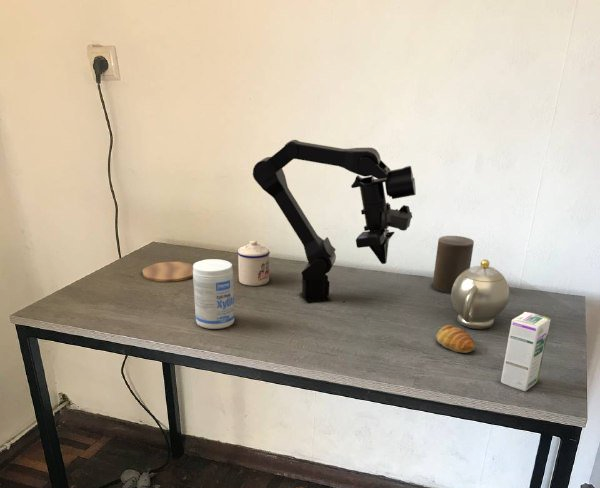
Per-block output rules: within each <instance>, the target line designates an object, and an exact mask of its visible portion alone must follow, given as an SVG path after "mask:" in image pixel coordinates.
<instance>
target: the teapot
mask: <svg viewBox="0 0 600 488" xmlns="http://www.w3.org/2000/svg"><path fill="white" fill-rule="evenodd" d="M450 294H451V295H450V297H451V298H450V299H451V303H452V306H453V308H454V310H455V311H456V312H457V314H458V315H457V322H458V323H459V324H460V326H462V327H465V328H468V329H472V330H486V329H489V328H491V327H492V326H493V325H494V323H495V320H494V319H495V318H496V317H498V316H499V315H500V314H501V313H502V312H504V310H505V308H506V307H507V305H508V302H509V298H510V288H509V283H508V281H507V279H506V278H505V276H504V275H503V273H501V272H500V271H499V270H498V269H496V268H495V267H493V266H490V261H489V260H488V259H482V260H481V261H480V265H476V266H472V267H471V266H470V268H469V269H467V270H465V271H464V272H462V273H461V274H460V275H459V276H458V277H457V279H456V280H455V282H454V284H453V287H452V292H451V293H450Z"/></svg>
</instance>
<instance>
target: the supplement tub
mask: <svg viewBox="0 0 600 488" xmlns="http://www.w3.org/2000/svg"><path fill="white" fill-rule="evenodd" d="M192 265H193V277H192V280H193V299H194V313H195V323H196V324H197V325H198V326H199V327H201V328H204V329H209V330H219V329H226V328H229V327H230V326H231V325H233V324H234V322H235V289H234V287H235V285H234V269H233V264H232V262H231V261H228V260H224V259H217V258H215V259H214V258H211V259H210V258H209V259H203V260H199V261H197V262H194V263H193V264H192Z"/></svg>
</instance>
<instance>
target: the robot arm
mask: <svg viewBox="0 0 600 488" xmlns="http://www.w3.org/2000/svg"><path fill="white" fill-rule="evenodd" d="M381 159H382V158H381V156H380V153H379V151H378V150H377V149H376V148H374V147H351V148H341V147H335V146H330V145H329V146H328V145H322V144H317V143H311V142H304V141H300V140H298V139H291V140H289V141H288V142H286V143H285V144H284V146H283V147H281V149H279V150H278V151H277V152H275V153H274V154H273V155H272V156H267V157H264V158H263V159H262V158H261V160H259V161H258V162H256V163H255V165H254V166H253V169H252V177H253V179H254V181H255V182H256V183H257V184H258V186H259V187H260V188H261V189H262V190H263V191H264V192H265V193H267V194H268V195H269V196H271V197H272V198H273V200H274V201H275V202H276V204H277V206H278V207H279V209H280V211H281V212H282V214H283V215H284V216H285V218H286V220H287V222H288V223H289V225H290V226H291V228H292V230H293V232H294V233H295V235H296V237H298V239H299V240H300V242H301V244H302V245H303V249H304V253H305V257H306V260H307V263H306V265H305V266H304V268H303V269H302V271H301V272H300V273H301V280H302V281H301V292H299V296H301V298H302V299H303V300H304V301H305V302H306V303H316V302H326V301H330V297H329V296H330V284H331V283H330V282H331V281H329V276H328V275H327V274H328V273H329V272H331V269H332V268H333V266H334V264H335V262H336V258H337V256H336V252H335V251H336V250H337V249H336V248H335V247H334V246H333V245H332V243H331V240H330V239H329V237H328V236H327V237H325V238H322V237H321V236H319V235H318V234H317V232H316V230H315V229H314V227H313V226H312V224H311V223H310V220H309V219H308V217H307V216H306V214H305V213H304V211H303V209H302V208H301V206H300V205H299V203H298V201H297V200H296V198H295V197H294V195H293V193H292V192H291V190H290V189H289V185H288V183H287V178H286V174H285V172H284V169H283V168H285V167H286V166H287V165H288V164H289V163H291V162H292V161H293V160H299V161H306V162H311V163H317V164H322V165H329V166H335V167H339V168H343V169H345V170H347V171H348V172H350V173H353V174H356V176H355V179H354V181H353V183H352V184H351V185H350V187H351V189H355V188H359V190H360V197H361V202H362V209H361V210H360V213H361V215H364V221H365V225H364V226H363V229H364V231H362V232H361V233H360V234H358V236H357V238H355V244H356V248H357V249H361V248H369V249H370V250H371V251H372V253H373V254H374V255H375V257H376V258H377V259H378V261H379V262H380V263H381V265H385V264H387V261H388V253H389V252H388V251H389V243H390V240H391V238H392V237H393V236H394V234H395V231H390V229H388V228H389V227H390V228H394V229H398V230H399V231H403V232H405V231H407V230H408V228H410V225H411V220H412V218H413V212H411V210H410V206H409V205H405V204H403V205H402V206H401V207H400V208H399V209H398V208H395V209H394V208H393V209H392V207H391V204H390V202H387V200H386V196H388V197H389V198H391V199H392V200H395V199H396V200H397V199H401V198H406V197H407V198H408V197H413V196H416V193H417V191H416V181H415V180H416V179H415V177H414V174H413V170H412V165H408V166H404V167H402V168H401V167H400V168H397V169H391V168H390V167H388V165H387V164H386V163H385V162H384V161H383V160H381ZM384 185H385V186H384ZM385 192H386V193H385Z"/></svg>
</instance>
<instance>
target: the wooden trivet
mask: <svg viewBox="0 0 600 488" xmlns="http://www.w3.org/2000/svg"><path fill="white" fill-rule="evenodd" d="M193 265H194V264H192V263H189V262H183V261H162V262H157V263H153V264H150V265H148V266H146V267H144V268H143V269H142V276H143V277H144V278H145V279H147V280H150V281H152V282H153V281H154V282H158V283H159V282H161V283H173V282H180V281H181V282H182V281H186V280H189V279H193Z"/></svg>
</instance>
